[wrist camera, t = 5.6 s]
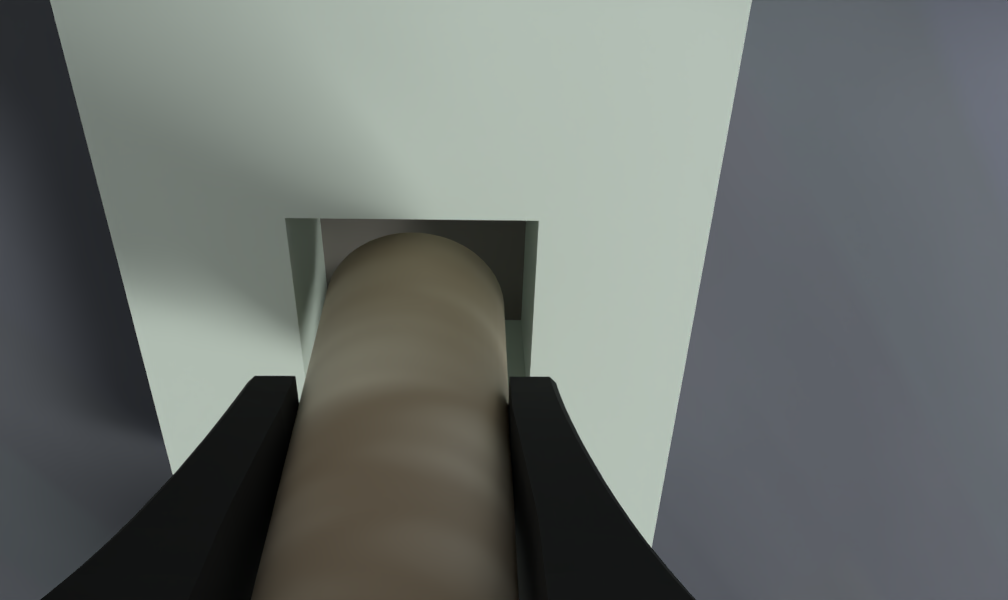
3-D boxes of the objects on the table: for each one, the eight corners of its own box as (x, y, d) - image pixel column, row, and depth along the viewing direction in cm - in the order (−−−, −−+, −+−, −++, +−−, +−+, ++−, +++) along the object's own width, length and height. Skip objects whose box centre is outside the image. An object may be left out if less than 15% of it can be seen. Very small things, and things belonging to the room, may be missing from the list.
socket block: (711, -133, 15) (769, -92, 12) (624, 462, 23) (646, 573, 20) (110, -149, 15) (21, -110, 12) (234, 463, 22) (199, 576, 20)
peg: (511, 238, 15) (541, 657, 9) (497, 381, 17) (512, 820, 10) (322, 227, 15) (203, 649, 8) (328, 374, 17) (233, 818, 10)
